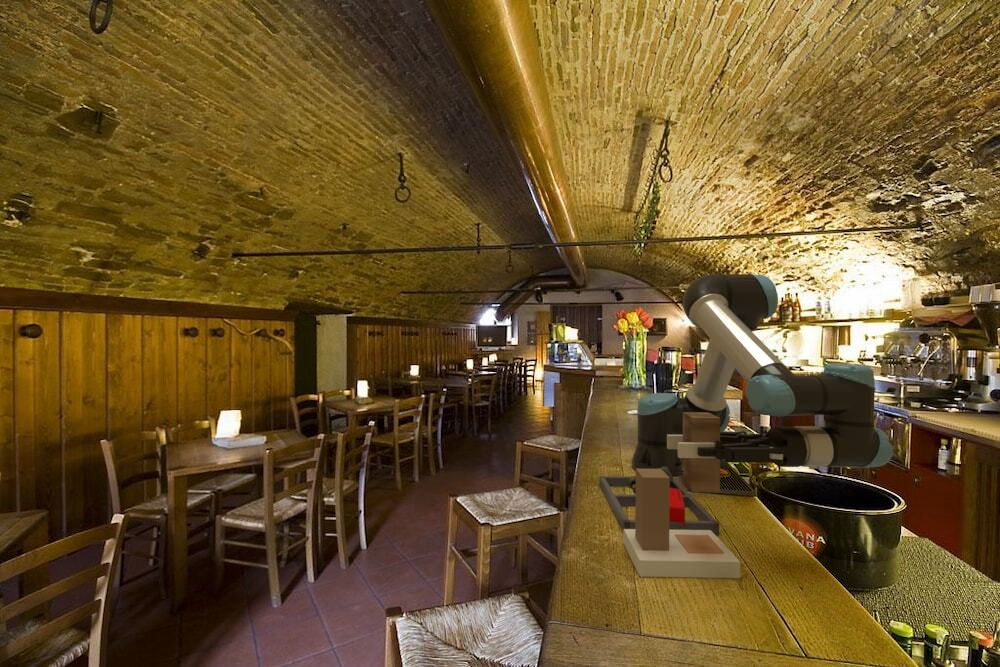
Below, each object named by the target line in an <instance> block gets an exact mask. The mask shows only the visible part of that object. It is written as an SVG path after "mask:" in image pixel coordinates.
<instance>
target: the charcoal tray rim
mask: <svg viewBox="0 0 1000 667" xmlns="http://www.w3.org/2000/svg"><path fill="white" fill-rule="evenodd" d="M632 477H636V475H635V476H633V475H631V476H630V475H629V476H628V475H625V476H624V475H599V486H601V487H600V489H601V490H602V492H603V494H604V497H605V498H606V500H607V502H608V504H609V505H610V509H612V512H613V513H614V516H615V517H616V520H617V519H618V520H617V522H618V523H619V525H620V527H621V529H622V531H623V530H624V529H635V519H629V518H628V516H627V514H626V513H625V511H624V509H623V507H635V504H636V494H624V493H623V494H619V493H618V494H616V493H614V491H613V490H612V488H611V487H629V488H631V487H630V486H629V485H628V480H629V479H630V478H632ZM672 478H673V484H672V487H671V488H677V489H680V490H681V494H682V499H683V503H684V507H685V508H688V509H689V510H690V511H691V512H692V513H693V514H694V515H695V516H696V517H697V519H698V520H685V528H684V526H683V523H679V522H671V521H669V530H711V531H712V532H713V533H714V534H715V535H716V536H719V535H720V523H719V522H718V520H717V519H715V517H714V516H712V514H711V513H710V512H709V511H707V509H705V507H703V506H702V504H700V503H699V502H698V500H696V499H695V498H694V496H692V495H691V494H690V493H689V492H688V491H687V489H685V488H684V487H683V486H682V485H681V483H679V482H678V481H677V479H675V478H674V476H672Z"/></svg>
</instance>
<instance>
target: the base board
mask: <svg viewBox="0 0 1000 667" xmlns="http://www.w3.org/2000/svg"><path fill="white" fill-rule="evenodd" d="M635 476H636V494H635V495H636V504H635V506H634V507H635V511H634V512H635V519H634V520H635V529H624V530H623V529H622V532H623V533H622V534H623V540H622V541H623V545H624V547H625V550H626V551H627V554H628V555H629V557H630V560H631V561H632V564H633V566H634V568H635V570H636V572H637V573H638V576H639V577H640V578H641V577H642V578H645V577H646V578H647V577H648V578H649V577H651V578H652V577H653V578H654V577H655V578H695V579H697V578H703V579H704V578H705V579H707V578H710V579H741V560H739V558H737V557H736V555H734V553H733V552H732V551H731V550H730V549H729V548H728V547H727V546H726V545H725V544H724V543H723V542H722V541H721V539H720V538H719V537H718V535H715V534H714V533H713V532H712V531H711V530H669V510H670V477H669V476H668V475H667V474H666V473H665V472H664V471H663V470H662V469H636V470H635Z"/></svg>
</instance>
